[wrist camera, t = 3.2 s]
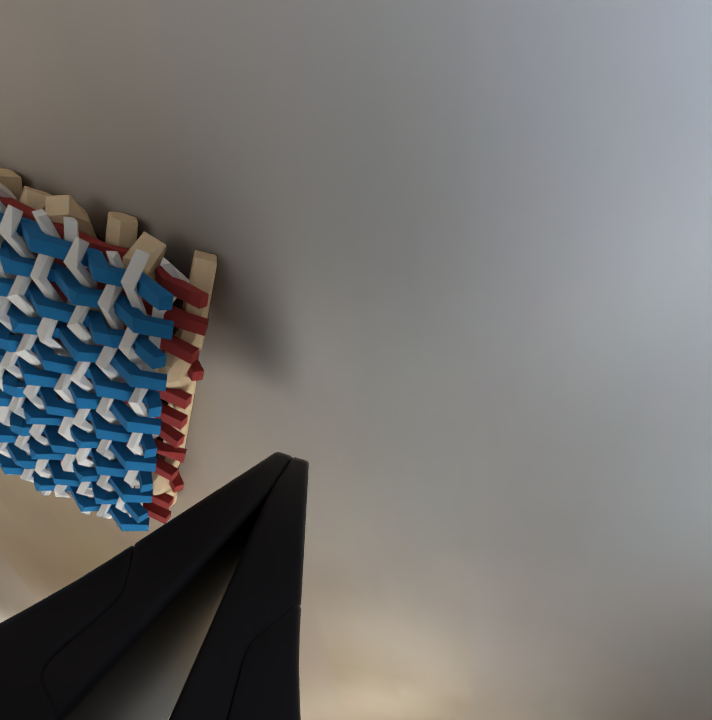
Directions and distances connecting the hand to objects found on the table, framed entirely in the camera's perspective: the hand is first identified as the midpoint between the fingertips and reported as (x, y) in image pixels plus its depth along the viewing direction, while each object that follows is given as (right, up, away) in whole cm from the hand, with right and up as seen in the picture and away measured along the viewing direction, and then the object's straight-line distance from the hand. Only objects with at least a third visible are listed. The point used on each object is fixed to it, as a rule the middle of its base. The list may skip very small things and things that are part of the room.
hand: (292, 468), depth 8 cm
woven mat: (-8, +3, +3) cm, 9 cm away
